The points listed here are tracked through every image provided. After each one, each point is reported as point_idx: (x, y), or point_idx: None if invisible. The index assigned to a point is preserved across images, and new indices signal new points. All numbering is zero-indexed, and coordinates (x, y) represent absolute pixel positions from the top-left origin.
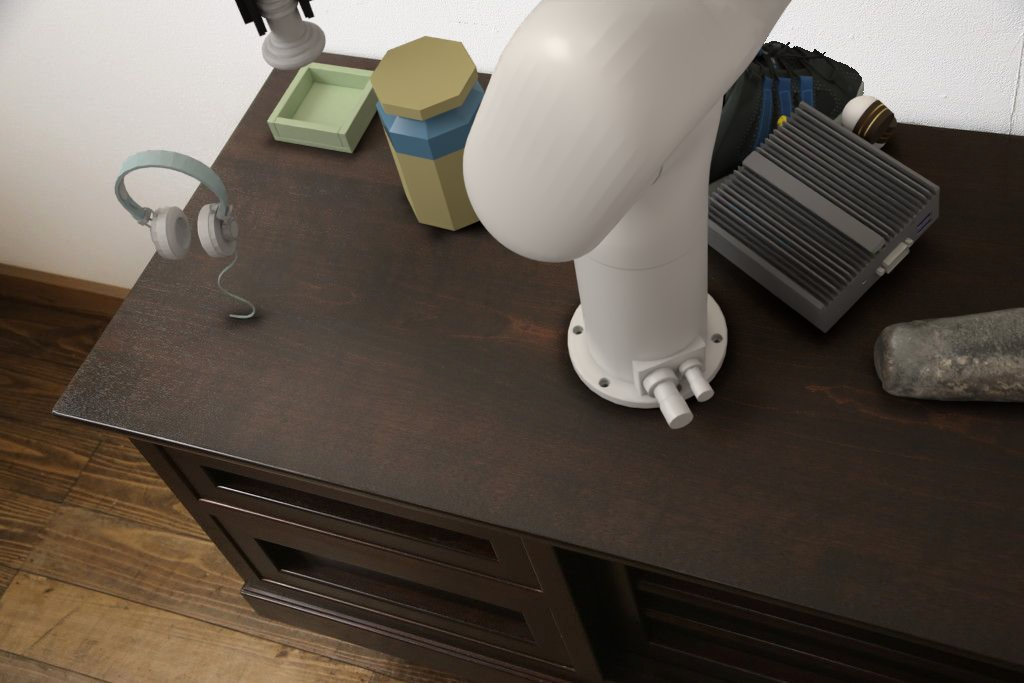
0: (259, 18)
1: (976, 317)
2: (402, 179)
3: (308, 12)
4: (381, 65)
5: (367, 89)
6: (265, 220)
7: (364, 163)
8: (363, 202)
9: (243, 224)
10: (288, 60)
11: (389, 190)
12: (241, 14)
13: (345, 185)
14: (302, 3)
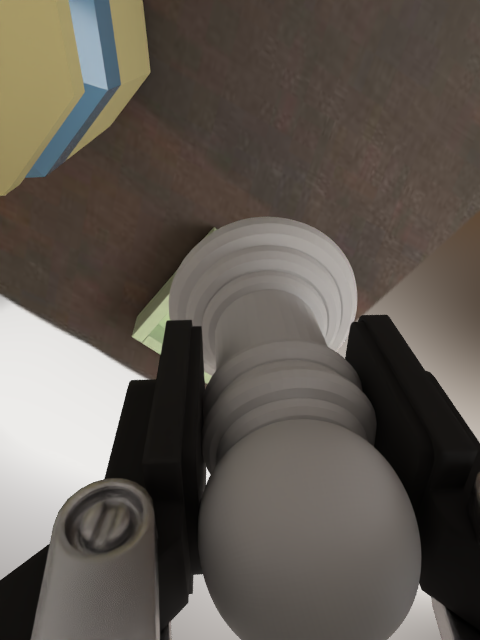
0: (384, 358)
1: None
2: (136, 37)
3: (182, 333)
4: (28, 136)
5: (158, 313)
6: (376, 156)
7: (201, 198)
8: (224, 113)
9: (407, 165)
10: (301, 240)
11: (177, 118)
12: (447, 399)
13: (241, 166)
14: (190, 363)
